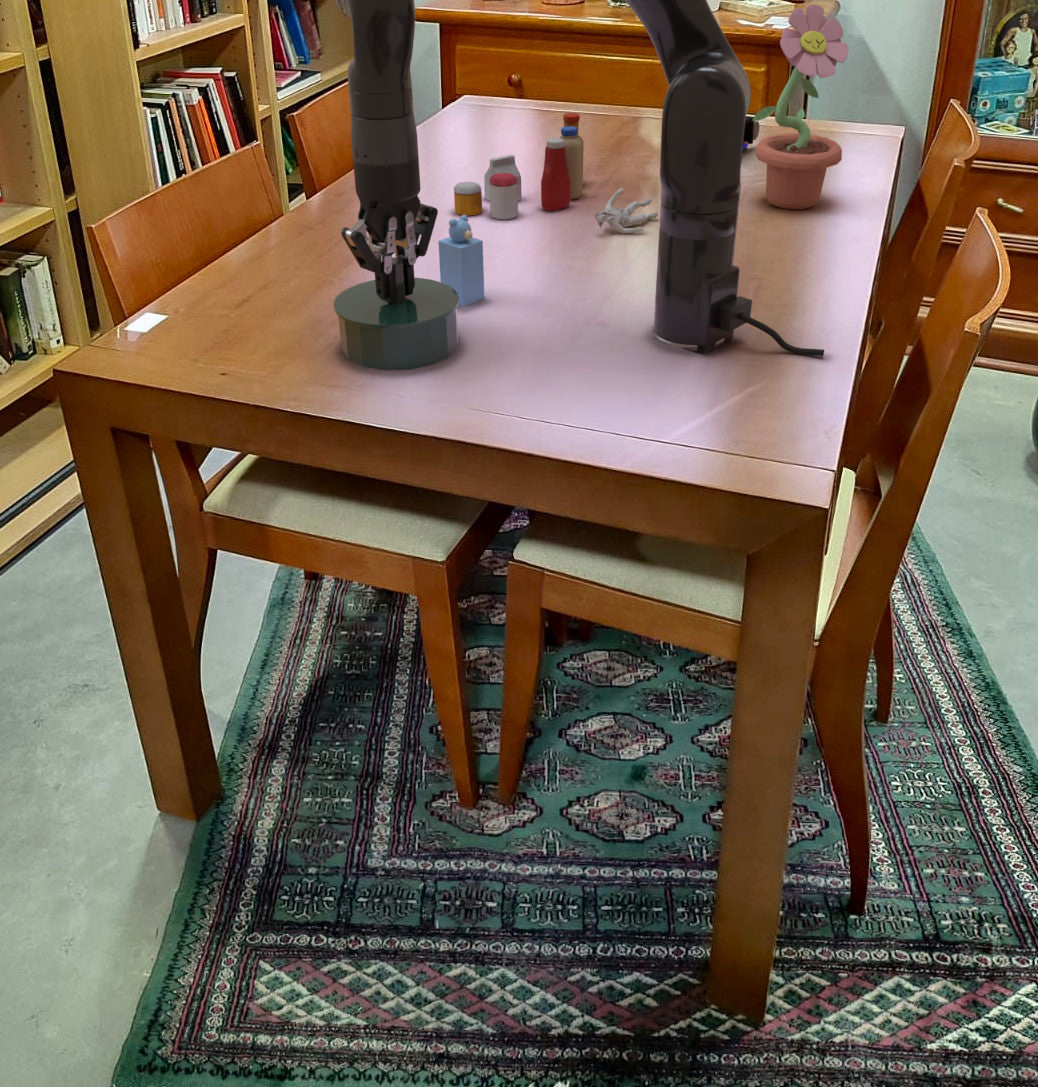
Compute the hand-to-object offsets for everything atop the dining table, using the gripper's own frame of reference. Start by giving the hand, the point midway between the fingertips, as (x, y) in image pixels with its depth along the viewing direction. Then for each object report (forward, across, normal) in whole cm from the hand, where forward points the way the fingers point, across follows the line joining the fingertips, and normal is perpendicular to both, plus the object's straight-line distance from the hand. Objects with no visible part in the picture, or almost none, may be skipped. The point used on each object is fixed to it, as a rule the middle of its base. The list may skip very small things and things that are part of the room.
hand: (396, 296), depth 138 cm
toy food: (+7, +54, +28) cm, 61 cm away
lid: (+1, 0, 0) cm, 1 cm away
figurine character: (+7, +99, +19) cm, 101 cm away
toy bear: (+7, +16, +5) cm, 18 cm away
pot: (+7, 0, 0) cm, 7 cm away
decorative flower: (+7, +82, -5) cm, 82 cm away
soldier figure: (+7, +55, +8) cm, 56 cm away
